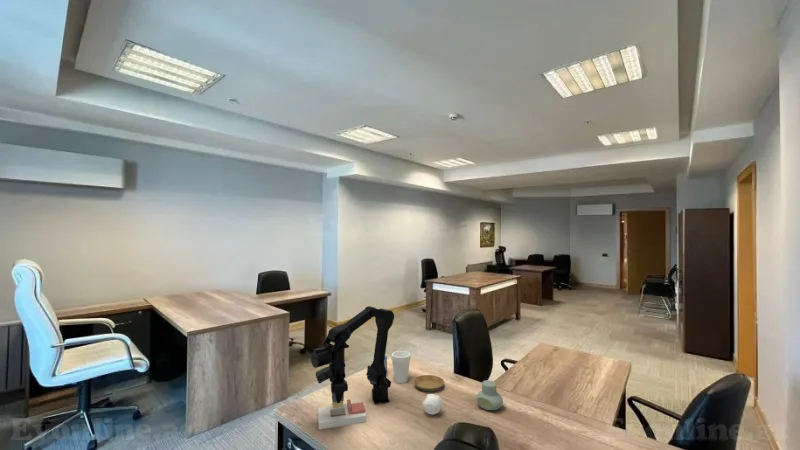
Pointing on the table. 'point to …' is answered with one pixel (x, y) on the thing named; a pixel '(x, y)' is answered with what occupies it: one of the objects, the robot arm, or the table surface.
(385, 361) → the medicine box
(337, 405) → the plug
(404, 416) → the table surface
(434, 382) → the plant saucer
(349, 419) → the socket plate
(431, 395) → the crumpled paper ball
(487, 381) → the air freshener
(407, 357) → the foam cup
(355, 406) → the pink toy block
